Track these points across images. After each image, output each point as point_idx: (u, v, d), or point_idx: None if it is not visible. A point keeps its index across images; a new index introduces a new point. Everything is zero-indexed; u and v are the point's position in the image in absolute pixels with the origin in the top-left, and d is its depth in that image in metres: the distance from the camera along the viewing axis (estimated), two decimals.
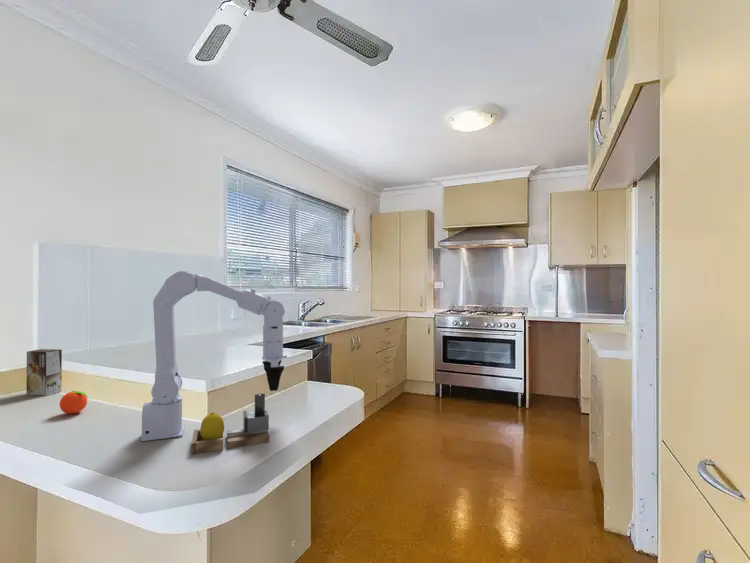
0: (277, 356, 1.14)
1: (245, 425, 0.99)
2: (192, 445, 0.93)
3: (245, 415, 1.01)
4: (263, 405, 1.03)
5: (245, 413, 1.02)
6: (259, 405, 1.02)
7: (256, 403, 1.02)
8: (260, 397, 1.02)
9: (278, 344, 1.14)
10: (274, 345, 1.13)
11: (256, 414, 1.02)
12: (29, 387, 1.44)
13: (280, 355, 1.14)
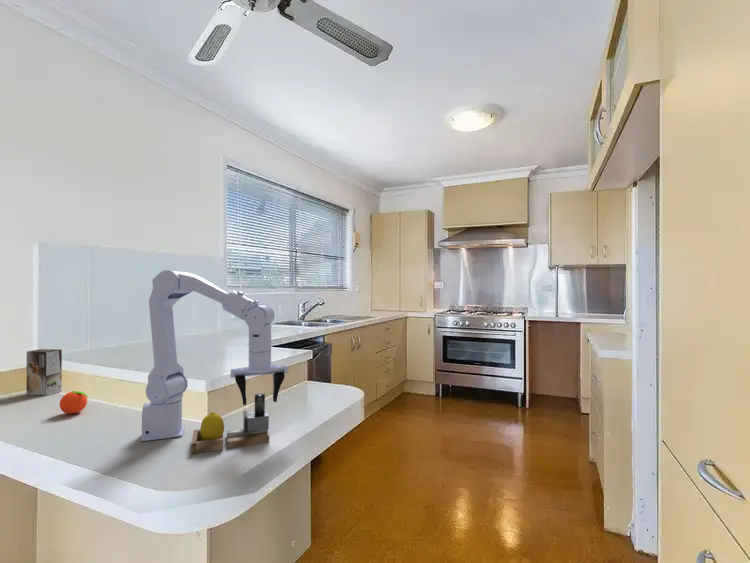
0: (249, 368, 1.01)
1: (245, 425, 0.99)
2: (192, 445, 0.93)
3: (245, 415, 1.01)
4: (263, 405, 1.03)
5: (245, 413, 1.02)
6: (259, 405, 1.02)
7: (256, 403, 1.02)
8: (260, 397, 1.02)
9: (250, 355, 1.01)
10: None
11: (256, 414, 1.02)
12: (29, 387, 1.44)
13: (252, 368, 1.01)
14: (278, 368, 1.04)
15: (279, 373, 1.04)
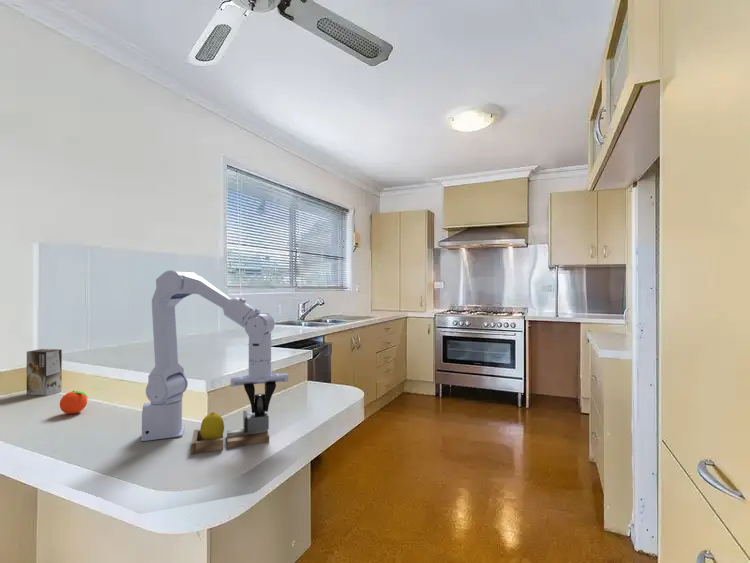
0: (249, 377, 1.01)
1: (245, 425, 0.99)
2: (192, 445, 0.93)
3: (245, 415, 1.01)
4: (263, 405, 1.03)
5: (245, 413, 1.02)
6: (259, 405, 1.02)
7: (256, 403, 1.02)
8: (260, 397, 1.02)
9: (250, 363, 1.01)
10: None
11: (256, 414, 1.02)
12: (29, 387, 1.44)
13: (252, 377, 1.01)
14: (278, 377, 1.03)
15: None
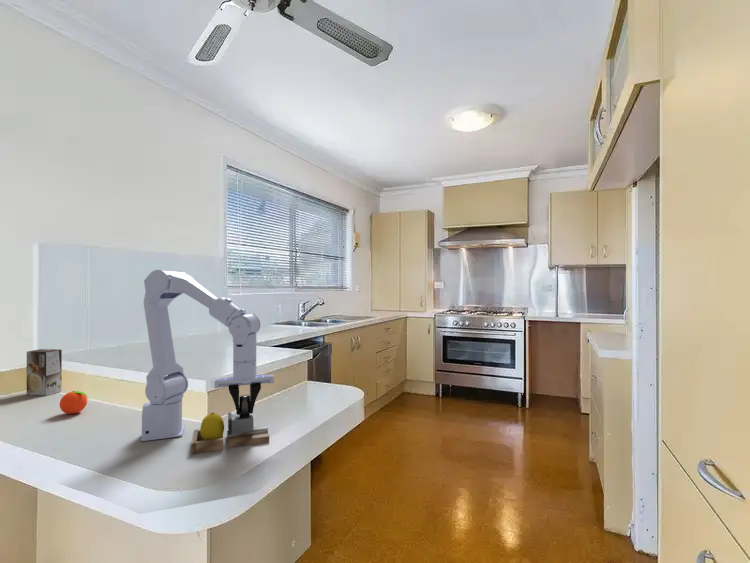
0: (234, 378, 1.00)
1: (229, 427, 0.98)
2: (192, 445, 0.93)
3: (229, 417, 0.99)
4: (248, 407, 1.01)
5: (230, 415, 1.01)
6: (243, 406, 1.00)
7: (241, 405, 1.01)
8: (245, 399, 1.01)
9: (234, 365, 1.00)
10: (233, 365, 1.01)
11: (241, 416, 1.01)
12: (29, 387, 1.44)
13: (236, 378, 0.99)
14: (263, 378, 1.02)
15: None
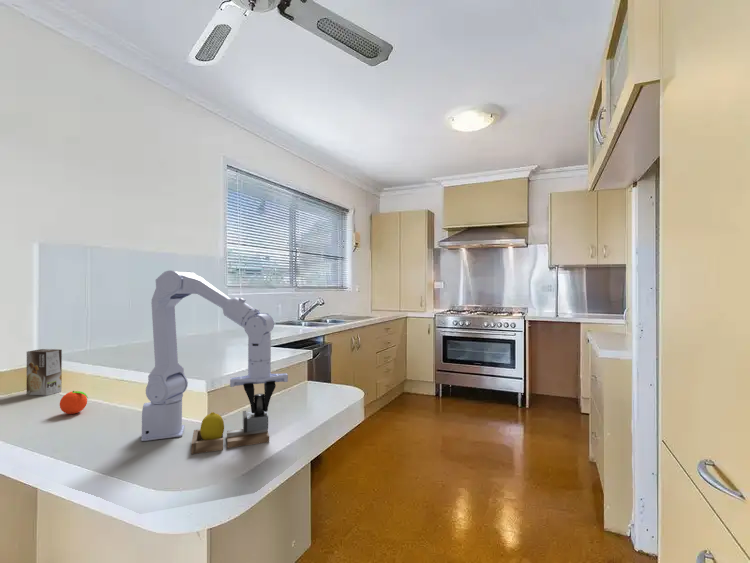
0: (249, 377, 1.01)
1: (245, 425, 0.99)
2: (192, 445, 0.93)
3: (245, 415, 1.01)
4: (263, 405, 1.03)
5: (245, 413, 1.02)
6: (258, 405, 1.02)
7: (256, 403, 1.02)
8: (260, 397, 1.02)
9: (249, 363, 1.01)
10: (248, 363, 1.02)
11: (256, 414, 1.02)
12: (29, 387, 1.44)
13: (252, 377, 1.01)
14: (278, 377, 1.03)
15: None
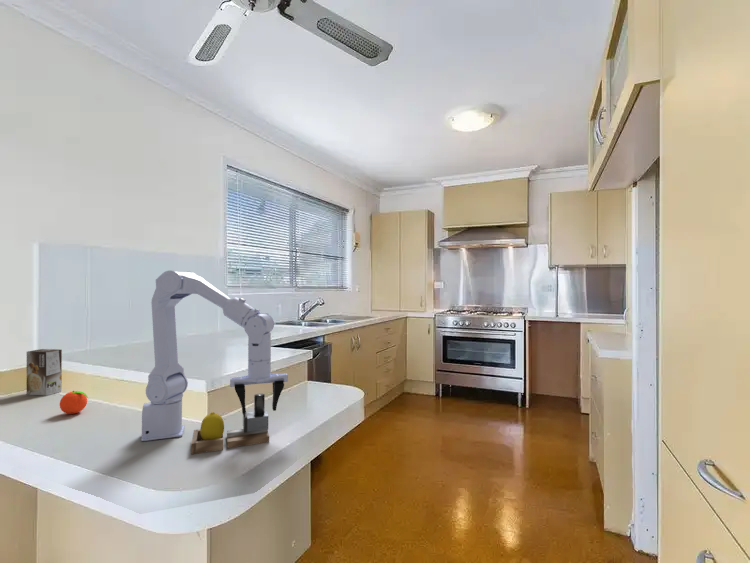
0: (249, 377, 1.01)
1: (245, 425, 0.99)
2: (192, 445, 0.93)
3: (245, 415, 1.01)
4: (263, 405, 1.03)
5: None
6: (258, 405, 1.02)
7: (256, 403, 1.02)
8: (260, 397, 1.02)
9: (249, 363, 1.01)
10: (248, 363, 1.02)
11: (256, 414, 1.02)
12: (29, 387, 1.44)
13: (252, 377, 1.01)
14: (278, 377, 1.03)
15: (279, 382, 1.04)
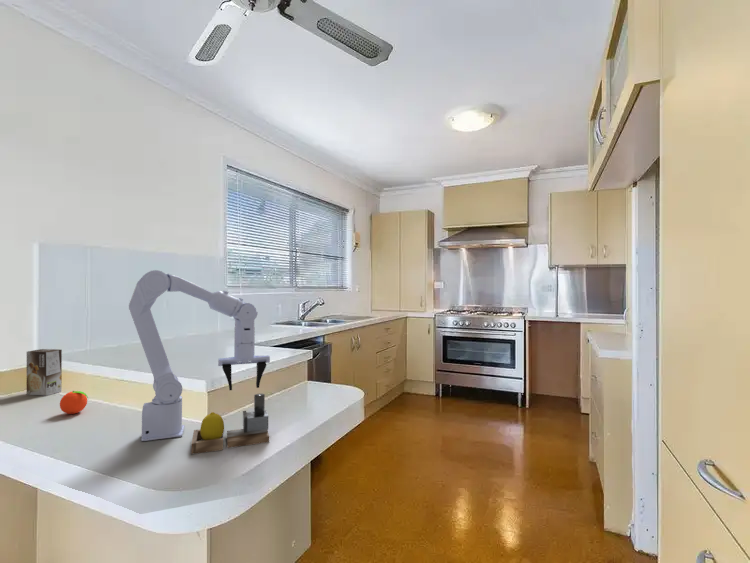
0: (235, 357, 1.15)
1: (245, 425, 0.99)
2: (192, 445, 0.93)
3: (245, 415, 1.01)
4: (263, 405, 1.03)
5: (245, 413, 1.02)
6: (258, 405, 1.02)
7: (256, 403, 1.02)
8: (260, 397, 1.02)
9: (235, 346, 1.15)
10: (234, 346, 1.16)
11: (256, 414, 1.02)
12: (29, 387, 1.44)
13: (237, 357, 1.15)
14: (260, 358, 1.17)
15: (261, 362, 1.18)
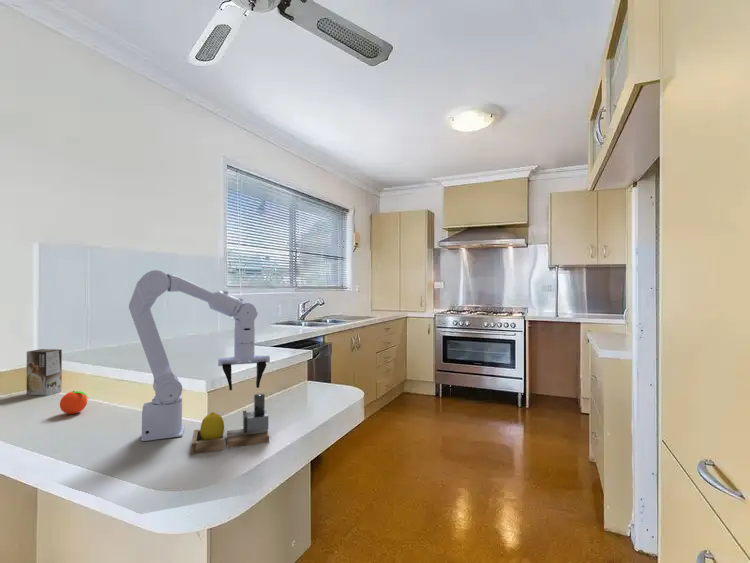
0: (235, 357, 1.15)
1: (245, 425, 0.99)
2: (192, 445, 0.93)
3: (245, 415, 1.01)
4: (263, 405, 1.03)
5: (245, 413, 1.02)
6: (258, 405, 1.02)
7: (256, 403, 1.02)
8: (260, 397, 1.02)
9: (235, 346, 1.15)
10: (234, 346, 1.16)
11: (256, 414, 1.02)
12: (29, 387, 1.44)
13: (237, 357, 1.15)
14: (260, 358, 1.17)
15: (261, 362, 1.18)
